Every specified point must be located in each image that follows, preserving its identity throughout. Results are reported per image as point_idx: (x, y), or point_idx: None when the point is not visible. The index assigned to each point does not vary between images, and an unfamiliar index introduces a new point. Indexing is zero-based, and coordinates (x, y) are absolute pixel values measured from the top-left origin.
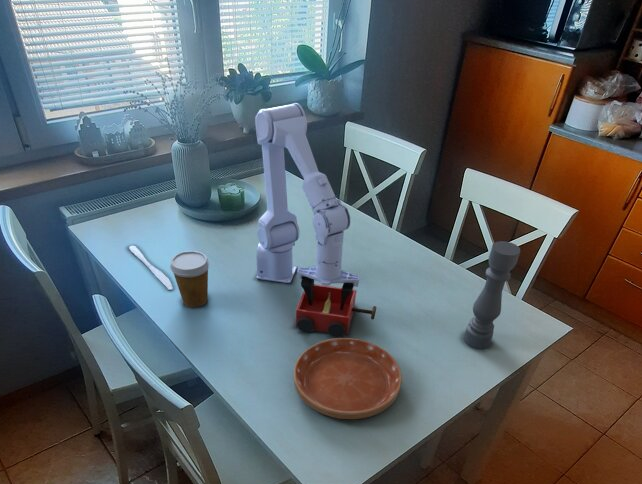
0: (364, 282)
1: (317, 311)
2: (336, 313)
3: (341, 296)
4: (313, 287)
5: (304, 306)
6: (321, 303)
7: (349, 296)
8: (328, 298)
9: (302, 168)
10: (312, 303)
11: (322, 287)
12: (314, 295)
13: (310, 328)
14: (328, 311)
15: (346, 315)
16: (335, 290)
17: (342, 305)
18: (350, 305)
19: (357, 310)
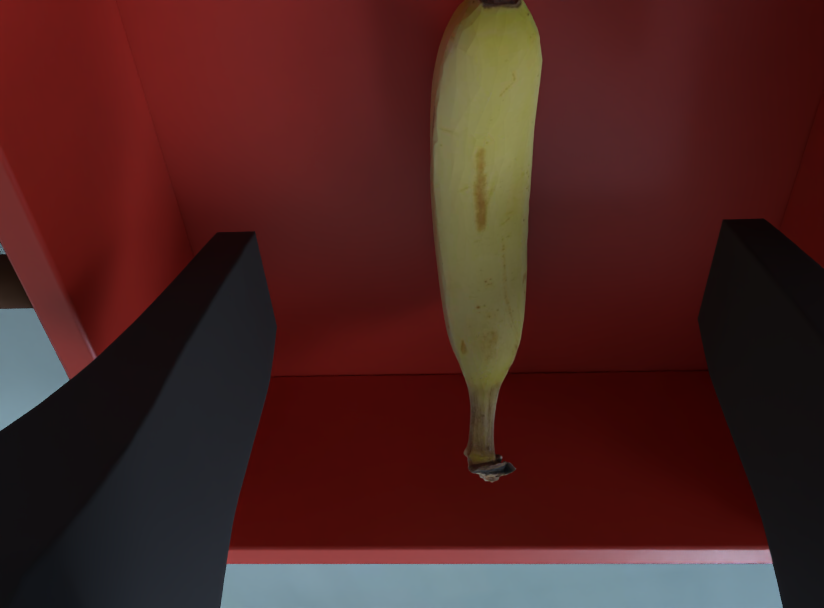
0: (266, 601)
1: (602, 204)
2: (352, 225)
3: (135, 432)
4: (773, 530)
5: (798, 234)
6: (570, 339)
7: (247, 469)
8: (489, 399)
9: None
10: (714, 262)
11: (599, 535)
12: (674, 418)
13: None
14: (441, 195)
15: (221, 221)
16: (421, 520)
17: (184, 283)
18: (63, 312)
19: (4, 273)
